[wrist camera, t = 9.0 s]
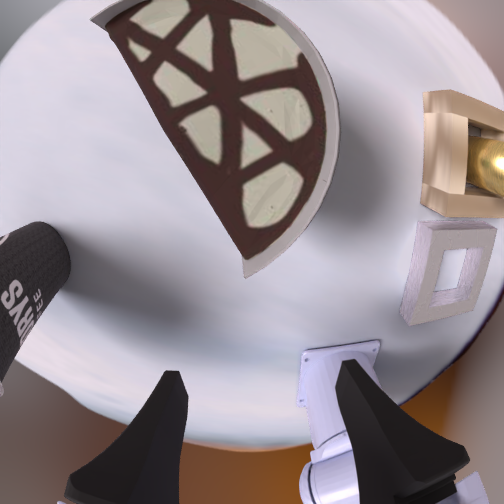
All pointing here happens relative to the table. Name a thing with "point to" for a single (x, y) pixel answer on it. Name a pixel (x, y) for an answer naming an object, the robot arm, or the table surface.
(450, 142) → the beige square frame
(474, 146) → the peg
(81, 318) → the table surface
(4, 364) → the coffee cup
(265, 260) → the food container
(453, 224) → the socket block
